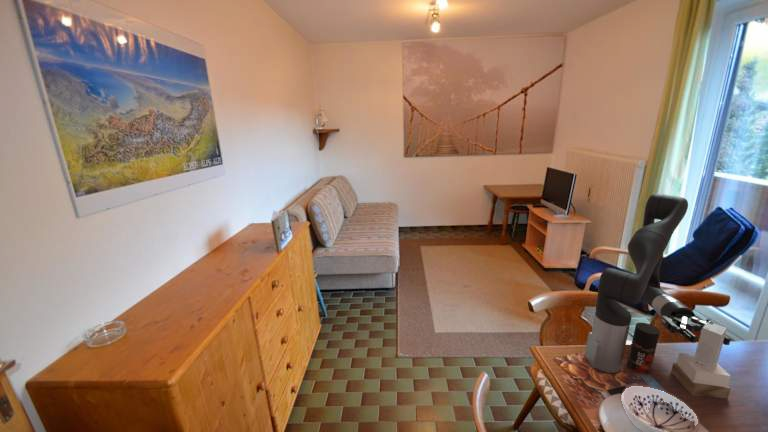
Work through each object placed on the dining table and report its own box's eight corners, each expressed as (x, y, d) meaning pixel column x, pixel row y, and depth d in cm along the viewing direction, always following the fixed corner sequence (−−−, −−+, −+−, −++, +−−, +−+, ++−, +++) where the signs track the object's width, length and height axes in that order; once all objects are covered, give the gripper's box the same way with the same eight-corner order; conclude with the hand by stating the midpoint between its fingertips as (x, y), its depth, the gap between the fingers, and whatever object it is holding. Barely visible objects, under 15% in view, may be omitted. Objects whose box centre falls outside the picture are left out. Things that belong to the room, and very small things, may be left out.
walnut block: (691, 396, 94) (695, 385, 93) (670, 373, 102) (673, 363, 101) (727, 399, 92) (731, 388, 91) (702, 376, 101) (705, 365, 100)
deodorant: (647, 364, 106) (656, 325, 102) (652, 377, 101) (662, 336, 96) (625, 359, 108) (633, 320, 104) (629, 371, 103) (638, 331, 99)
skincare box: (711, 372, 92) (723, 336, 89) (691, 363, 96) (701, 328, 92) (717, 363, 95) (729, 328, 92) (697, 355, 99) (707, 320, 96)
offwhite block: (693, 382, 94) (696, 371, 92) (676, 363, 101) (679, 352, 100) (726, 387, 92) (730, 375, 91) (706, 367, 99) (710, 356, 98)
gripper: (651, 299, 108) (687, 328, 93) (698, 301, 106) (743, 332, 91) (646, 318, 110) (681, 350, 95) (693, 321, 108) (736, 354, 93)
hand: (711, 341), depth 93 cm, fingers open, 8 cm apart
